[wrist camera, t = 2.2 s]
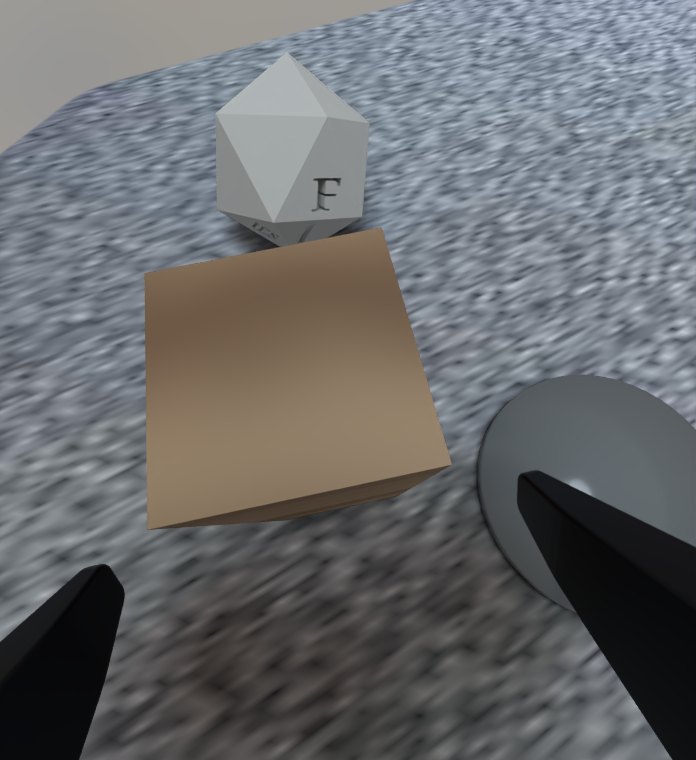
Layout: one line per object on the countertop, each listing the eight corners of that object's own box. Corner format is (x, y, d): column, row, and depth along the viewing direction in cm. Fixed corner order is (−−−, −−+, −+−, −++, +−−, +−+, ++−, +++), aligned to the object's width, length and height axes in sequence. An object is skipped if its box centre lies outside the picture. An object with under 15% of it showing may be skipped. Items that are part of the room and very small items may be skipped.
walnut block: (397, 496, 18) (451, 464, 7) (285, 520, 18) (147, 529, 6) (372, 390, 20) (381, 227, 9) (271, 411, 20) (144, 273, 8)
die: (222, 272, 24) (259, 224, 15) (187, 127, 22) (205, -16, 14) (335, 259, 27) (417, 214, 19) (311, 133, 26) (386, 22, 17)
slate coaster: (717, 667, 15) (736, 675, 14) (452, 565, 17) (456, 568, 16) (723, 418, 18) (738, 414, 18) (502, 354, 20) (507, 348, 19)
